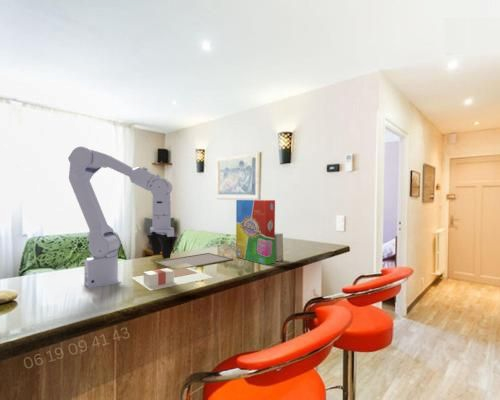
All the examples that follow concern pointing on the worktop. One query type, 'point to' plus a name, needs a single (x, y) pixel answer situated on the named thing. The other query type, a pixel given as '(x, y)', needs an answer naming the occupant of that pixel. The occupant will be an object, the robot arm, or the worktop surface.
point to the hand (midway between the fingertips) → (161, 256)
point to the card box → (158, 277)
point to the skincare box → (278, 246)
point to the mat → (177, 278)
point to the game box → (255, 230)
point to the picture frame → (195, 260)
